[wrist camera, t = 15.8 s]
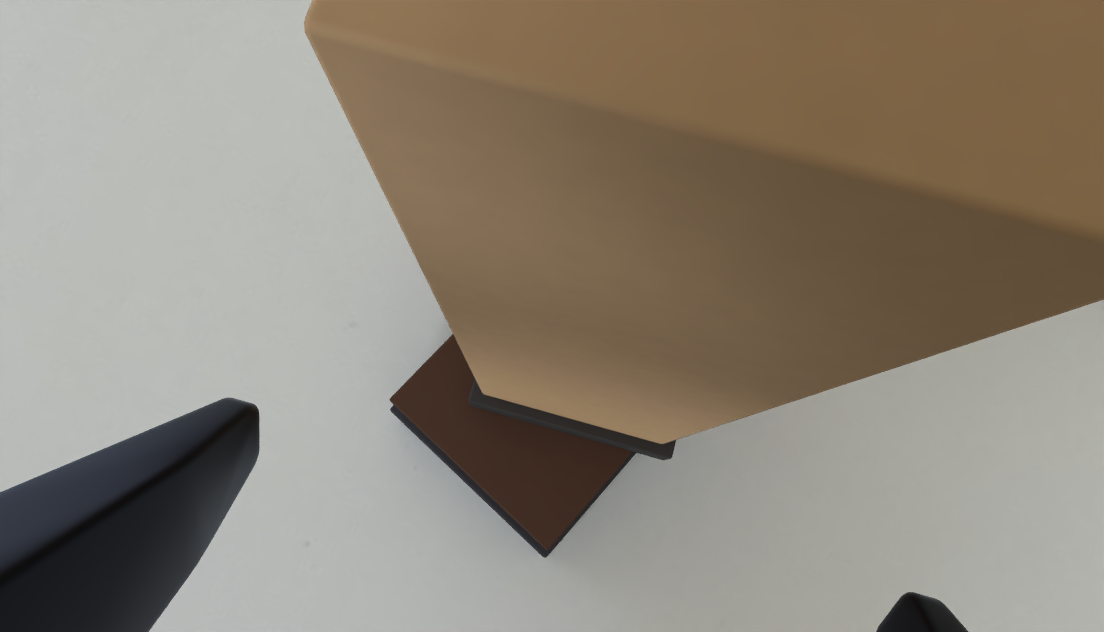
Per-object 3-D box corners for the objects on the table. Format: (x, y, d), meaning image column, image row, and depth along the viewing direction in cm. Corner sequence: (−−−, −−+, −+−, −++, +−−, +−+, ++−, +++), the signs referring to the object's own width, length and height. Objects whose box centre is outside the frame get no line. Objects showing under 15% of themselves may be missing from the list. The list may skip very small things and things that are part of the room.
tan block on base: (707, 274, 20) (1282, -411, 5) (664, 460, 19) (1274, 337, 3) (525, 225, 21) (516, -589, 5) (470, 406, 19) (222, 58, 4)
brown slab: (544, 555, 21) (547, 566, 18) (395, 412, 22) (374, 401, 19) (762, 302, 23) (795, 276, 20) (618, 182, 24) (630, 140, 21)
